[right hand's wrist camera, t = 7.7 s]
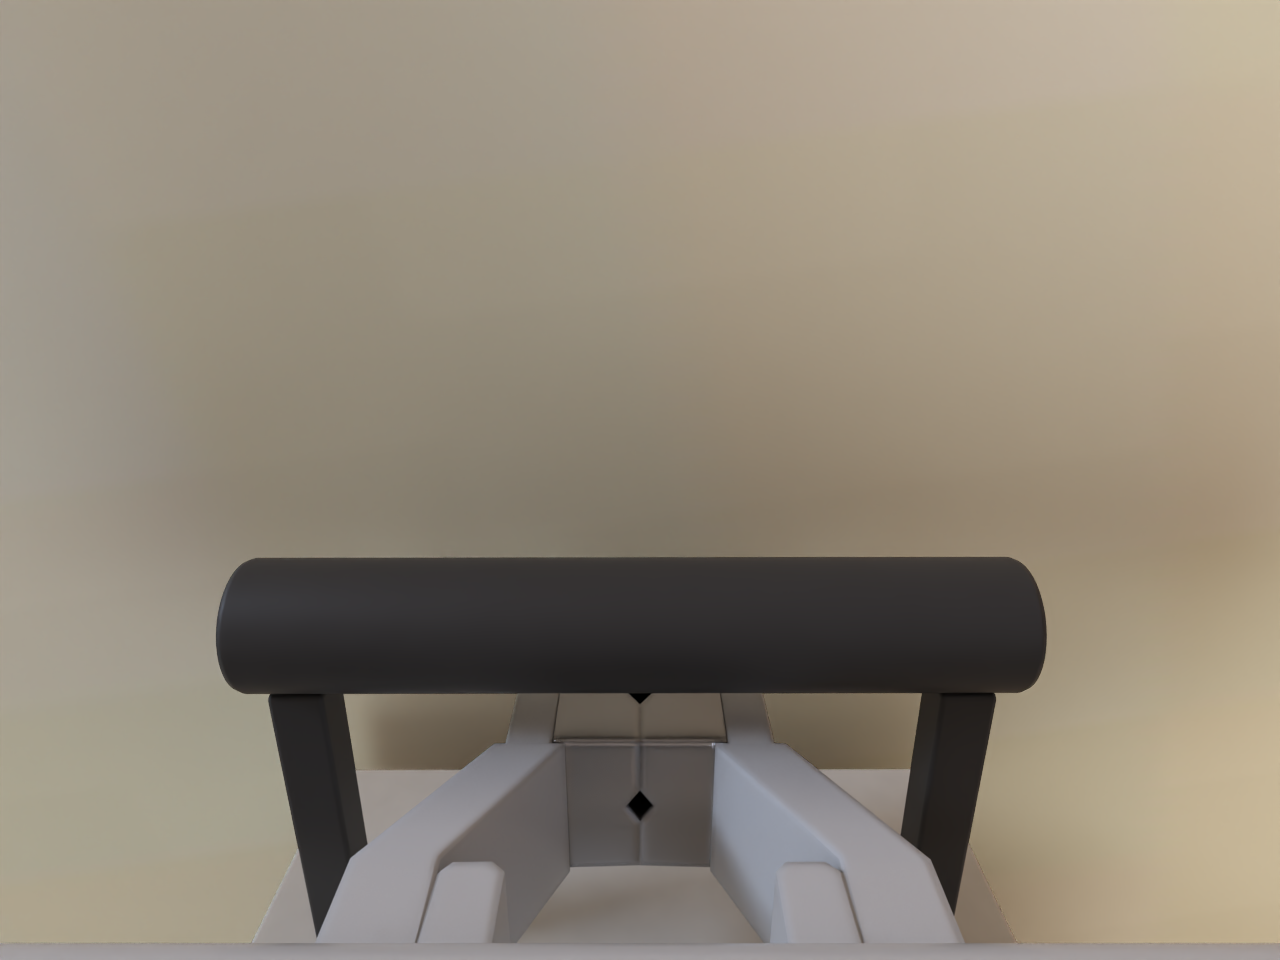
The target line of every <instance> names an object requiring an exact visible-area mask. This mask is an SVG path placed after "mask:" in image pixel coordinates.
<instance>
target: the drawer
mask: <svg viewBox="0 0 1280 960" xmlns="http://www.w3.org/2000/svg"><path fill="white" fill-rule="evenodd" d="M1046 640H1047V632H1046V619H1045V612H1044V607H1043V602H1042V598H1041V595H1040V592H1039V589H1038V587H1037V584H1036V582H1035V580H1034V578H1033V576H1032V575H1031V573H1030V571H1029V570H1028V569H1027V568H1026V567H1025V566H1024V565H1023V564H1022V563H1021V562H1019V561H1017V560H1015V559H1012V558H1009V557H638V558H255V559H252V560H249V561H247V562H245V563H243V564H241V565H240V566H239V567H238V568H237V569H236V570H235V572H234V573H233V574H232V576H231V577H230V579H229V581H228V583H227V585H226V588H225V590H224V593H223V596H222V599H221V602H220V607H219V611H218V617H217V626H216V647H217V656H218V661H219V665H220V669H221V671H222V674H223V676H224V678H225V680H226V682H227V683H228V684H229V685H230V686H231V687H232V688H233V689H235V690H237V691H239V692H241V693H245V694H270V695H269V698H268V702H269V707H270V712H271V717H272V722H273V727H274V732H275V737H276V741H277V746H278V751H279V756H280V761H281V766H282V771H283V776H284V781H285V786H286V790H287V795H288V800H289V805H290V810H291V815H292V820H293V825H294V830H295V835H296V839H297V844H298V849H297V851H296V853H295V855H294V857H293V859H292V861H291V863H290V865H289V867H288V869H287V871H286V873H285V875H284V877H283V879H282V881H281V884H280V886H279V888H278V890H277V892H276V894H275V896H274V898H273V900H272V902H271V904H270V906H269V908H268V910H267V912H266V914H265V916H264V918H263V920H262V922H261V924H260V926H259V928H258V930H257V932H256V934H255V936H254V938H253V940H252V942H251V943H315V941H316V939H317V937H318V934H319V932H320V930H321V927H322V925H323V922H324V920H325V918H326V915H327V913H328V910H329V908H330V906H331V903H332V901H333V898H334V896H335V894H336V891H337V889H338V887H339V884H340V882H341V879H342V877H343V875H344V872H345V870H346V867H347V865H348V863H349V860H350V858H351V857H352V856H354V855H355V854H356V853H357V852H359V851H360V850H361V849H362V848H364V847H365V846H366V845H367V844H369V843H370V842H371V841H373V840H374V839H375V838H376V837H378V836H379V835H380V834H381V833H383V832H384V831H385V830H386V829H388V828H389V827H390V826H391V825H393V824H394V823H395V822H396V821H398V820H399V819H400V818H401V817H403V816H404V815H405V814H406V813H408V812H409V811H410V810H411V809H413V808H414V807H415V806H416V805H418V804H419V803H420V802H421V801H423V800H424V799H425V798H426V797H428V796H429V795H430V794H431V793H433V792H434V791H435V790H436V789H438V788H439V787H440V786H441V785H443V784H444V783H445V782H446V781H448V780H449V779H450V778H451V777H453V776H454V775H455V774H456V773H458V772H459V771H460V770H355V763H354V757H353V751H352V745H351V739H350V733H349V727H348V720H347V714H346V708H345V702H344V696H343V694H520V693H922V697H921V703H920V710H919V716H918V723H917V730H916V736H915V743H914V749H913V756H912V762H911V769H818V770H820V771H821V772H822V773H823V774H825V775H826V776H827V777H828V778H830V779H831V780H832V781H833V782H835V783H836V784H837V785H838V786H840V787H841V788H842V789H843V790H845V791H846V792H847V793H848V794H850V795H851V796H852V797H853V798H855V799H856V800H857V801H858V802H860V803H861V804H862V805H863V806H865V807H866V808H867V809H868V810H870V811H871V812H872V813H873V814H875V815H876V816H877V817H878V818H880V819H881V820H882V821H883V822H885V823H886V824H887V825H888V826H889V827H891V828H892V829H893V830H894V831H896V832H897V833H898V834H899V835H901V836H902V837H903V838H904V839H906V840H907V841H908V842H909V843H911V844H912V845H913V846H914V847H916V848H917V849H918V850H919V851H921V852H922V853H923V854H924V855H926V856H927V857H928V858H929V859H931V862H932V864H933V866H934V869H935V871H936V874H937V876H938V879H939V881H940V883H941V886H942V888H943V891H944V893H945V896H946V898H947V900H948V903H949V905H950V908H951V910H952V913H953V915H954V917H955V920H956V922H957V925H958V927H959V930H960V932H961V934H962V937H963V939H964V942H965V943H1017V942H1016V940H1015V938H1014V936H1013V934H1012V932H1011V930H1010V928H1009V926H1008V923H1007V921H1006V919H1005V917H1004V915H1003V913H1002V911H1001V909H1000V907H999V905H998V903H997V901H996V898H995V896H994V894H993V892H992V890H991V888H990V886H989V884H988V882H987V880H986V878H985V876H984V873H983V871H982V869H981V867H980V865H979V863H978V861H977V859H976V857H975V855H974V853H973V851H972V848H971V846H970V844H969V838H970V832H971V827H972V822H973V817H974V812H975V807H976V801H977V796H978V791H979V786H980V781H981V775H982V770H983V765H984V760H985V755H986V750H987V744H988V739H989V734H990V729H991V724H992V718H993V713H994V708H995V703H996V696H995V694H994V693H1018V692H1022V691H1024V690H1026V689H1028V688H1030V687H1031V686H1032V685H1034V683H1035V682H1036V681H1037V679H1038V677H1039V675H1040V673H1041V670H1042V667H1043V664H1044V659H1045V653H1046ZM517 943H763V941H762V940H761V939H760V937H759V936H758V934H757V933H756V932H755V930H754V929H753V928H752V926H751V925H750V924H749V922H748V921H747V920H746V918H745V917H744V916H743V914H742V913H741V912H740V910H739V909H738V908H737V906H736V905H735V904H734V902H733V901H732V899H731V898H730V897H729V895H728V894H727V893H726V891H725V890H724V889H723V887H722V886H721V885H720V883H719V882H718V881H717V879H716V878H715V877H714V875H713V874H712V873H711V871H710V867H681V866H645V865H633V866H598V867H570V872H569V873H568V875H567V876H566V877H565V879H564V880H563V881H562V883H561V884H560V885H559V887H558V888H557V889H556V891H555V892H554V894H553V895H552V896H551V898H550V899H549V900H548V902H547V903H546V904H545V906H544V907H543V908H542V910H541V911H540V912H539V914H538V915H537V916H536V918H535V919H534V920H533V922H532V923H531V924H530V926H529V927H528V928H527V930H526V931H525V932H524V934H523V935H522V936H521V938H520V939H519V940H518V942H517Z"/></svg>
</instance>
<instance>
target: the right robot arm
mask: <svg viewBox="0 0 1280 960" xmlns="http://www.w3.org/2000/svg"><path fill="white" fill-rule="evenodd" d="M633 865H645V866H681V867H710V871H711V873H712V874H713V875H714V877H715V878H716V879H717V881H718V882H719V883H720V885H721V886H722V887H723V889H724V890H725V891H726V893H727V894H728V895H729V897H730V898H731V899H732V901H733V902H734V904H735V905H736V906H737V908H738V909H739V910H740V912H741V913H742V914H743V916H744V917H745V918H746V920H747V921H748V922H749V924H750V925H751V926H752V928H753V929H754V930H755V932H756V933H757V934H758V936H759V937H760V939H761V940H762V941H763V943H517V942H518V940H519V939H520V938H521V936H522V935H523V934H524V932H525V931H526V930H527V928H528V927H529V926H530V924H531V923H532V922H533V920H534V919H535V918H536V916H537V915H538V914H539V912H540V911H541V910H542V908H543V907H544V906H545V904H546V903H547V902H548V900H549V899H550V898H551V896H552V895H553V894H554V892H555V891H556V889H557V888H558V887H559V885H560V884H561V883H562V881H563V880H564V879H565V877H566V876H567V875H568V873H569V872H570V867H598V866H633ZM0 960H1280V943H965V942H964V939H963V937H962V934H961V932H960V930H959V927H958V925H957V922H956V920H955V917H954V915H953V913H952V910H951V908H950V905H949V903H948V900H947V898H946V896H945V893H944V891H943V888H942V886H941V883H940V881H939V879H938V876H937V874H936V871H935V869H934V866H933V864H932V862H931V859H929V858H928V857H927V856H926V855H924V854H923V853H922V852H921V851H919V850H918V849H917V848H916V847H914V846H913V845H912V844H911V843H909V842H908V841H907V840H906V839H904V838H903V837H902V836H901V835H899V834H898V833H897V832H896V831H894V830H893V829H892V828H891V827H889V826H888V825H887V824H886V823H885V822H883V821H882V820H881V819H880V818H878V817H877V816H876V815H875V814H873V813H872V812H871V811H870V810H868V809H867V808H866V807H865V806H863V805H862V804H861V803H860V802H858V801H857V800H856V799H855V798H853V797H852V796H851V795H850V794H848V793H847V792H846V791H845V790H843V789H842V788H841V787H840V786H838V785H837V784H836V783H835V782H833V781H832V780H831V779H830V778H828V777H827V776H826V775H825V774H823V773H822V772H821V771H820V770H818V769H817V768H816V767H815V766H813V765H812V764H811V763H810V762H808V761H807V760H806V759H805V758H803V757H802V756H801V755H800V754H798V753H797V752H796V751H795V750H793V749H792V748H791V747H790V746H788V745H787V744H786V743H774V739H773V734H772V730H771V726H770V721H769V717H768V713H767V709H766V704H765V700H764V696H763V693H520V694H517V695H516V699H515V704H514V708H513V712H512V717H511V721H510V725H509V730H508V734H507V738H506V743H494V744H493V745H492V746H490V747H489V748H488V749H487V750H485V751H484V752H483V753H482V754H480V755H479V756H478V757H477V758H475V759H474V760H473V761H472V762H470V763H469V764H468V765H466V766H465V767H464V768H463V769H461V770H460V771H459V772H458V773H456V774H455V775H454V776H453V777H451V778H450V779H449V780H448V781H446V782H445V783H444V784H443V785H441V786H440V787H439V788H438V789H436V790H435V791H434V792H433V793H431V794H430V795H429V796H428V797H426V798H425V799H424V800H423V801H421V802H420V803H419V804H418V805H416V806H415V807H414V808H413V809H411V810H410V811H409V812H408V813H406V814H405V815H404V816H403V817H401V818H400V819H399V820H398V821H396V822H395V823H394V824H393V825H391V826H390V827H389V828H388V829H386V830H385V831H384V832H383V833H381V834H380V835H379V836H378V837H376V838H375V839H374V840H373V841H371V842H370V843H369V844H367V845H366V846H365V847H364V848H362V849H361V850H360V851H359V852H357V853H356V854H355V855H354V856H352V857H351V858H350V860H349V863H348V865H347V867H346V870H345V872H344V875H343V877H342V879H341V882H340V884H339V887H338V889H337V891H336V894H335V896H334V898H333V901H332V903H331V906H330V908H329V910H328V913H327V915H326V918H325V920H324V922H323V925H322V927H321V930H320V932H319V934H318V937H317V939H316V941H315V943H0Z"/></svg>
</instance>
